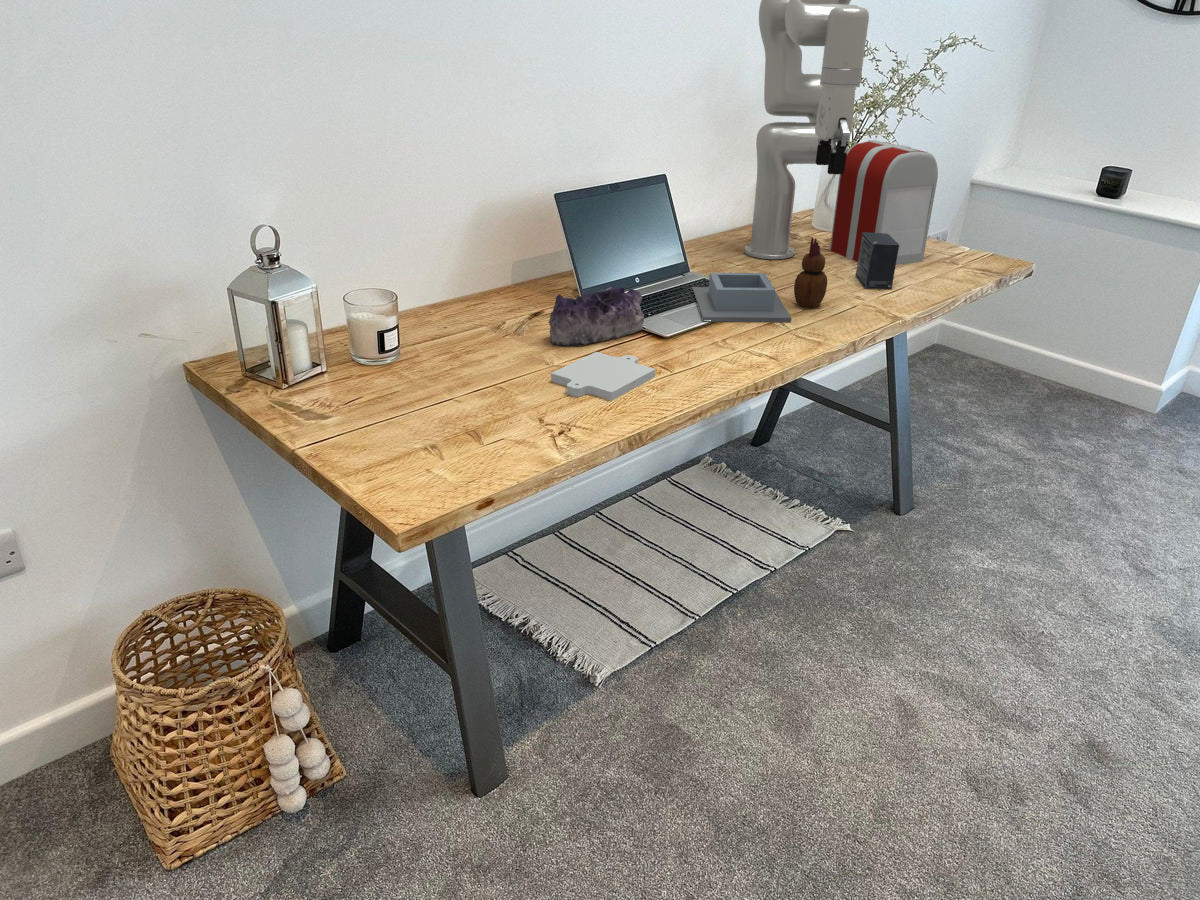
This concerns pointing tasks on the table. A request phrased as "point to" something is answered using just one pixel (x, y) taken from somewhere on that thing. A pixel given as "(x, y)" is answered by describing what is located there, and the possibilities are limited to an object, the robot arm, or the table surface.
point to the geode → (595, 317)
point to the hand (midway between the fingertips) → (829, 169)
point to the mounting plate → (603, 375)
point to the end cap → (740, 299)
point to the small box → (877, 260)
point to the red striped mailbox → (885, 199)
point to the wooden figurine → (811, 278)
